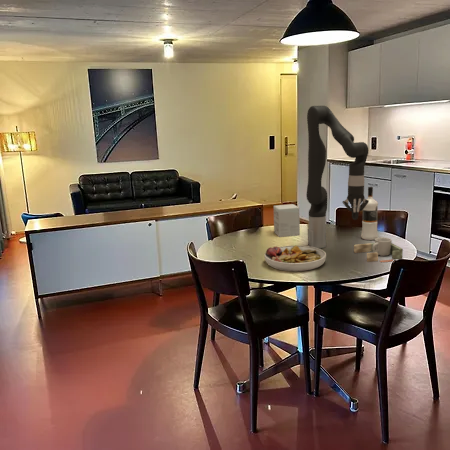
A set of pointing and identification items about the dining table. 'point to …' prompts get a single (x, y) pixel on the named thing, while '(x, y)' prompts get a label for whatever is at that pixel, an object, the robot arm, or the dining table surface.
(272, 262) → the bowl
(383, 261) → the trap mat
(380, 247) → the cup
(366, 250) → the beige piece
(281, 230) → the supplement box
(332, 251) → the dining table surface
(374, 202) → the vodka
